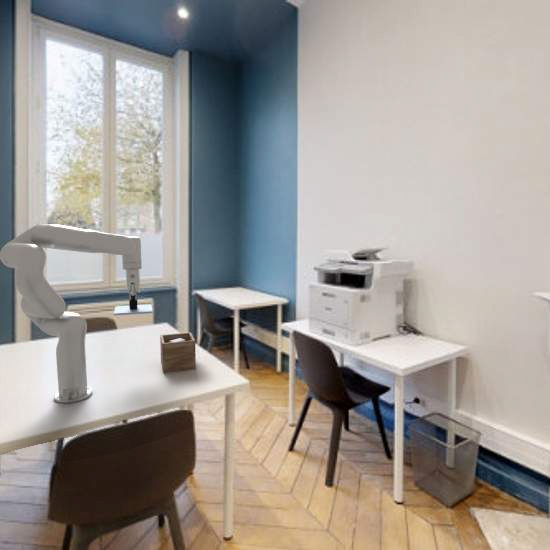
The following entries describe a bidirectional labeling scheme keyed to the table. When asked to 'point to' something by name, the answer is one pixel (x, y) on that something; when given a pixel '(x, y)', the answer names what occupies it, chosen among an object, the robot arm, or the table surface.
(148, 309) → the lid
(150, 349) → the table surface
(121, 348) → the table surface
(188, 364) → the walnut box
